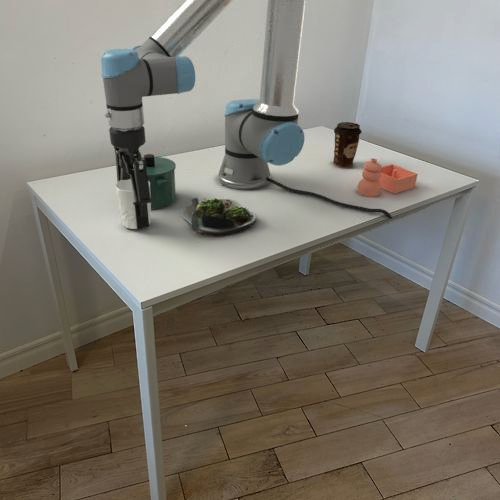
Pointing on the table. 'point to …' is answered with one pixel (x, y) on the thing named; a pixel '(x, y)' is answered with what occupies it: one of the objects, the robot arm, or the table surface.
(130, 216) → the white cup
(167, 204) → the pot
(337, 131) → the coffee cup
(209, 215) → the salad plate
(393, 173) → the pottery
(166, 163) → the pot lid
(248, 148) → the robot arm
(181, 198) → the table surface
